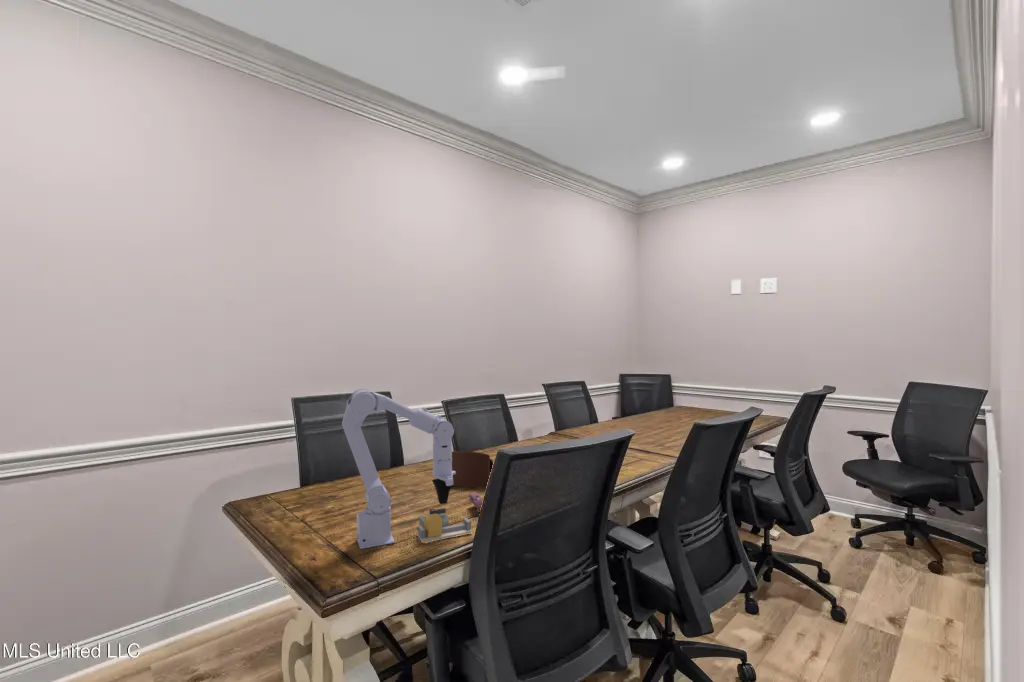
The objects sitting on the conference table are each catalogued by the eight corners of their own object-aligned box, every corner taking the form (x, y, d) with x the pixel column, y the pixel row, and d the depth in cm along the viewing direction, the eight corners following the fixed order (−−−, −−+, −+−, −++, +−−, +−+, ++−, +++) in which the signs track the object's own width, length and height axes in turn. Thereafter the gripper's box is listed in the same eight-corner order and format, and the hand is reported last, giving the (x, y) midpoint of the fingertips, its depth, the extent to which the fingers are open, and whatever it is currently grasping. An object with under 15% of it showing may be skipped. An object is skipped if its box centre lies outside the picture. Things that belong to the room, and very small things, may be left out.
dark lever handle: (430, 516, 145) (430, 511, 145) (429, 514, 147) (428, 509, 147) (445, 513, 147) (445, 508, 147) (444, 512, 149) (444, 507, 149)
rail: (422, 544, 134) (422, 532, 134) (417, 536, 139) (417, 524, 139) (471, 534, 140) (471, 522, 140) (465, 527, 146) (465, 516, 146)
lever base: (423, 531, 142) (423, 520, 142) (419, 525, 147) (419, 515, 147) (448, 526, 146) (448, 516, 146) (443, 521, 150) (443, 511, 150)
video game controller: (473, 510, 165) (464, 493, 164) (484, 502, 166) (475, 486, 165) (481, 519, 156) (472, 502, 155) (493, 512, 157) (484, 494, 156)
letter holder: (489, 488, 184) (489, 452, 184) (442, 485, 188) (441, 450, 189) (496, 481, 194) (496, 447, 194) (450, 478, 198) (450, 445, 198)
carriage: (428, 537, 135) (428, 521, 135) (424, 531, 140) (424, 515, 140) (442, 535, 137) (442, 518, 137) (437, 529, 141) (437, 513, 141)
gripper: (462, 462, 139) (463, 508, 139) (447, 452, 152) (448, 494, 152) (439, 465, 136) (440, 512, 136) (426, 454, 149) (426, 497, 149)
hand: (443, 503), depth 144 cm, fingers closed
